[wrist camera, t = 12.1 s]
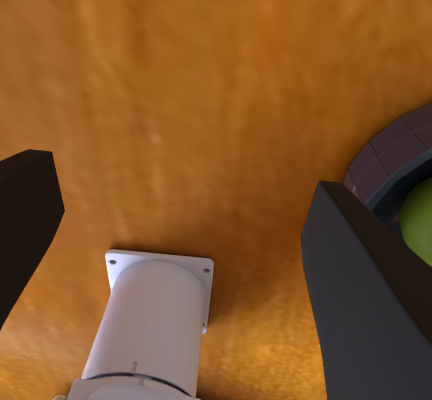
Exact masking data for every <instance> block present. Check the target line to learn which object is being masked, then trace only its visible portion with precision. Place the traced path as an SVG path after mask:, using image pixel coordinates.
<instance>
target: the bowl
mask: <svg viewBox="0 0 432 400" xmlns="http://www.w3.org/2000/svg"><path fill="white" fill-rule="evenodd" d="M429 177H432V102H431V103H429V104H427V105H424V106H422V107H420V108H418V109H415V110H413V111H411V112H409V113H407V114H404V115H402V116H401V117H399V118H398V119H396V120H395V121H394V122H392V123H391V124H390V125H389V126H387V127H386V128H385V129H383V130H382V131H381V132H379V133H378V134H377V135H375V136H374V137H373V138H372V139H370V140H369V142H367V144H366V145H365V146H364V148H363V149H362V150H361V151H360V153H359V154H358V155H357V157H356V158H355V159H354V160H353V162H352V163H351V164H350V166H349V167H348V169H347V172H346V175H345V177H344V180H343V183H342V184H343V185H344V186H346V187H347V188H348V189H349V190H350V191H351V192H352V193H353V194H354V195H355V196H356V197H357V198H358V199H359V200H360V201H361V202H362V203H363V204H364V205H365V206H366V207H367V208H368V209H369V210H370V211H371V212H372V213H373V214H374V215H375V216H376V217H377V218H378V219H379V220H380V221H381V222H382V223H383V224H384V225H385V226H386V227H387V228H388V229H389V230H391V231H392V232H393V233H394V234H395V235H396V236H397V237H398V238H399V239H400V240H401V241H402V242H403V243H405V244H406V242H405V240H404V238H403V236H402V233H401V229H400V212H401V208H402V205H403V203H404V201H405V199H406V197H407V196H408V194H409V193H410V192H411V191H412V190H413V189H414V188H415V187H416V186H417V185H418V184H419V183H421V182H422V181H424V180H426V179H427V178H429ZM406 245H407V244H406ZM431 267H432V266H431Z"/></svg>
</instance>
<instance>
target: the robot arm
mask: <svg viewBox="0 0 432 400" xmlns="http://www.w3.org/2000/svg"><path fill="white" fill-rule="evenodd" d="M64 212H65V209H64V205H63V200H62V196H61V191H60V186H59V182H58V177H57V173H56V168H55V164H54V159H53V155H52V152H50V151H41V150H32V149H28V150H26V151H23V152H20V153H18V154H15V155H13V156H11V157H9V158H6V159H4V160H2V161H0V330H1V328H2V326H3V324H4V322H5V321H6V319H7V317H8V315H9V313H10V311H11V310H12V308H13V306H14V305H15V303H16V301H17V300H18V298H19V296H20V295H21V293H22V291H23V290H24V288H25V286H26V285H27V283H28V281H29V280H30V278H31V277H32V275H33V273H34V272H35V270H36V268H37V267H38V265H39V263H40V262H41V260H42V258H43V256H44V255H45V253H46V251H47V250H48V248H49V246H50V244H51V243H52V241H53V239H54V236H55V234H56V232H57V229H58V227H59V224H60V222H61V219H62V217H63V214H64ZM301 246H302V259H303V268H304V273H305V278H306V283H307V287H308V292H309V297H310V301H311V305H312V310H313V314H314V319H315V323H316V328H317V332H318V337H319V341H320V347H321V353H322V358H323V366H324V375H325V384H326V392H327V400H432V267H431V266H430V265H429V264H427V263H426V262H425V261H424V260H423V259H422V258H421V257H419V256H418V255H417V254H416V253H415V252H414V251H412V250H411V249H410V248H409V247H408V246H407V245H406V244H405V243H403V242H402V241H401V240H400V239H399V238H398V237H397V236H396V235H395V234H394V233H393V232H392V231H391V230H389V229H388V228H387V227H386V226H385V225H384V224H383V223H382V222H381V221H380V220H379V219H378V218H377V217H376V216H375V215H374V214H373V213H372V212H371V211H370V210H369V209H368V208H367V207H366V206H365V205H364V204H363V203H362V202H361V201H360V200H359V199H358V198H357V197H356V196H355V195H354V194H353V193H352V192H351V191H350V190H349V189H348V188H347V187H346V186H344V185H343V184H342V183H339V182H329V181H320V180H319V182H318V185H317V188H316V191H315V194H314V197H313V200H312V203H311V206H310V209H309V212H308V215H307V218H306V221H305V224H304V227H303V230H302V233H301ZM105 257H106V263H107V269H108V275H109V281H110V288H111V295H110V298H109V301H108V304H107V306H106V309H105V312H104V315H103V318H102V321H101V324H100V326H99V329H98V332H97V335H96V338H95V341H94V343H93V346H92V349H91V352H90V355H89V358H88V361H87V363H86V366H85V369H84V372H83V375H82V378H81V379H74V381H73V384H72V386H71V389H70V392H69V395H68V396H63V395H57V396H55V397H54V398H53V399H52V400H201V399H198V398H196V390H197V380H198V369H199V359H200V348H201V338H202V334H204V333H206V331H207V323H208V314H209V305H210V296H211V287H212V278H213V269H214V261H213V260H211V259H209V258H199V257H189V256H179V255H168V254H158V253H147V252H137V251H126V250H116V249H110V250H108V251H107V252H106V256H105ZM114 260H115V261H114Z"/></svg>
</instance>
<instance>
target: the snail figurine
mask: <svg viewBox="0 0 432 400" xmlns="http://www.w3.org/2000/svg"><path fill="white" fill-rule="evenodd" d="M400 229H401V233H402V236H403V238H404V240H405V242H406V244H407V246H408V247H409V248H410V249H411V250H412V251H414V252H415V253H416V254H417V255H418V256H419V257H421V258H422V259H423V260H424V261H425V262H426V263H427V264H429V265H430V266H432V177H429V178H427V179H426V180H424V181H422V182H421V183H419V184H418V185H417V186H416V187H415V188H414V189H413V190H412V191H411V192H410V193H409V194H408V196H407V197H406V199H405V201H404V203H403V205H402V208H401V212H400Z"/></svg>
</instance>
